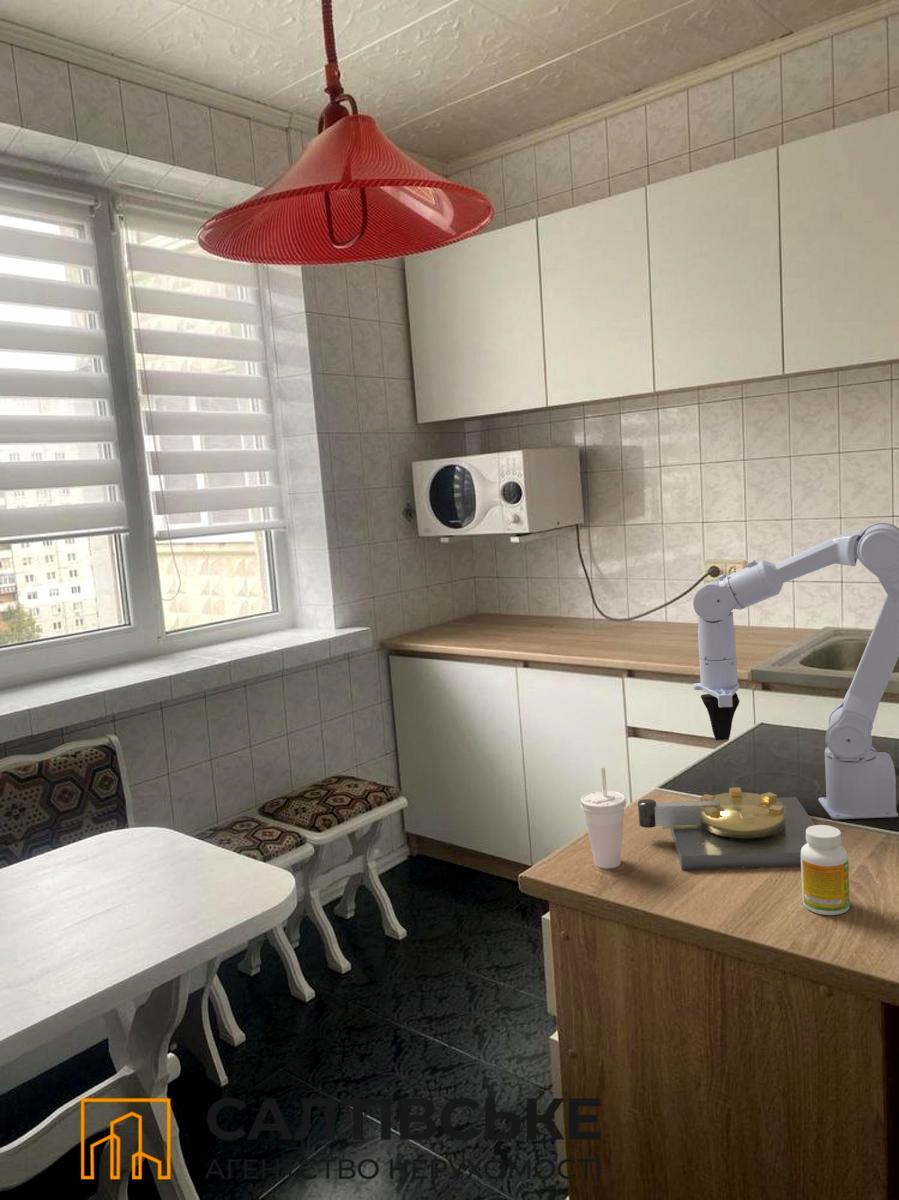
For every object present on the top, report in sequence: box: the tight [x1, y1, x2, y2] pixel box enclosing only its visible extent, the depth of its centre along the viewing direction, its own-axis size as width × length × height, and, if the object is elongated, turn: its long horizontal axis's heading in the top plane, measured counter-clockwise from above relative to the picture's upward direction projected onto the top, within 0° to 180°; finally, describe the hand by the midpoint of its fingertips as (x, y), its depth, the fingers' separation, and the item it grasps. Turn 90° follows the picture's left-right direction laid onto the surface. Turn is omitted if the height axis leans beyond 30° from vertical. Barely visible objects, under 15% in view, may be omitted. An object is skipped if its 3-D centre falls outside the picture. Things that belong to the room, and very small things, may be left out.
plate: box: [661, 796, 816, 871], centre depth 132 cm, size 22×20×2 cm
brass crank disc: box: [637, 787, 786, 838], centre depth 132 cm, size 21×12×3 cm, turn 81°
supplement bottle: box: [800, 824, 851, 916], centre depth 110 cm, size 5×5×10 cm
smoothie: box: [580, 766, 627, 870], centre depth 127 cm, size 6×6×14 cm
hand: (721, 738), depth 145 cm, fingers closed
